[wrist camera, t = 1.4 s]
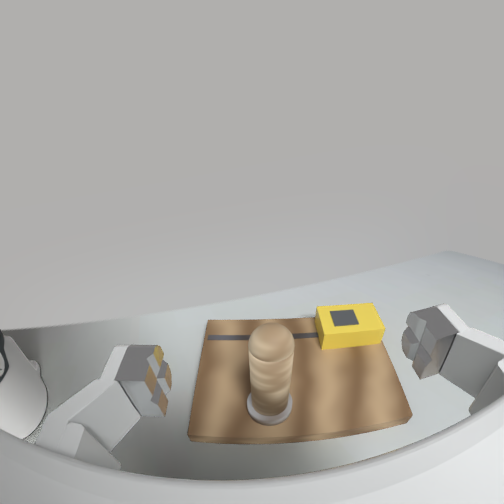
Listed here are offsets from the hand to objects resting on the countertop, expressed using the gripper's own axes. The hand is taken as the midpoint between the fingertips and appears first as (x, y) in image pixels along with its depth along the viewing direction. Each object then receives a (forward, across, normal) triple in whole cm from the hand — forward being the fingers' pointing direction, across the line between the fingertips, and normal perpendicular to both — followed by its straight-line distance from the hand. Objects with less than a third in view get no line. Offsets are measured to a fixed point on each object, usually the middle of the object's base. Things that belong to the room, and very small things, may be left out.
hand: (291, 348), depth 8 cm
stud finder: (+24, -12, +22) cm, 34 cm away
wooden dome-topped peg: (+12, +1, +22) cm, 25 cm away
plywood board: (+18, -3, +24) cm, 30 cm away
